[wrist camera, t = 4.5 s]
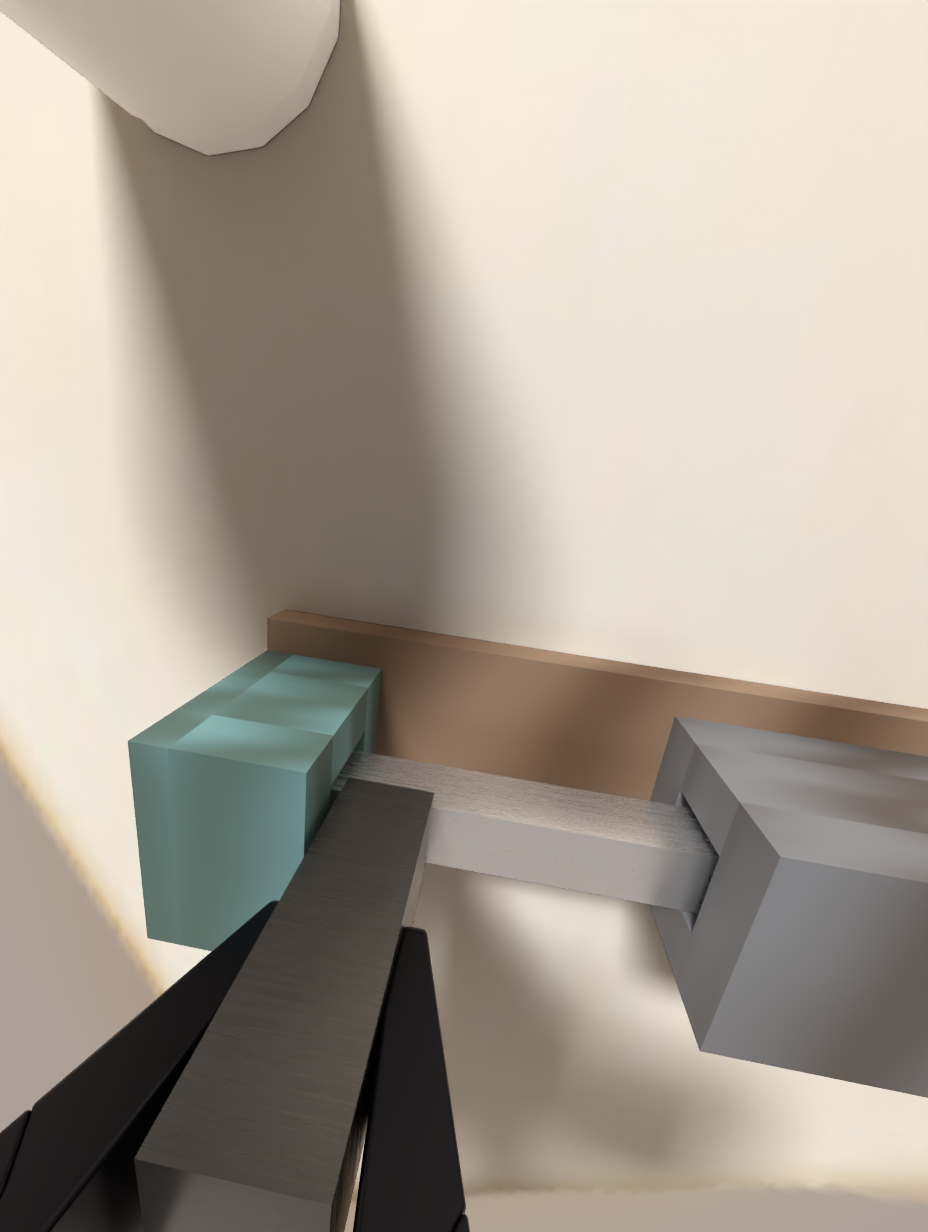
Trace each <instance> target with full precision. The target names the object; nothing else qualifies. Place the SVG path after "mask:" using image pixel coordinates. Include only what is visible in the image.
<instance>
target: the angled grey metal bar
mask: <svg viewBox="0 0 928 1232" xmlns="http://www.w3.org/2000/svg"><path fill="white" fill-rule="evenodd" d="M718 859H719V855H718V853H717V852H716V850H715V848H714V846H713V845H712V843H711V841H710V840H709V838H708V836H707V834H706V833H705V831H704V829H703V827H702V826H701V824H700V822H699V821H698V819H697V817H696V815H695V814H694V812H693V810H692V809H690V808H685V807H679V806H673V805H667V804H661V803H656V802H650V801H644V800H638V799H633V798H627V797H621V796H615V795H609V794H604V793H598V792H592V791H586V790H580V789H575V788H569V787H563V786H557V785H551V784H546V783H540V782H534V781H528V780H523V779H517V778H511V777H505V776H499V775H494V774H488V773H482V772H476V771H470V770H465V769H459V768H453V767H447V766H442V765H436V764H430V763H424V762H418V761H413V760H407V759H401V758H395V757H389V756H384V755H378V754H372V753H366V752H361V751H355V750H353V751H352V753H351V754H350V756H349V758H348V759H347V761H346V763H345V764H344V766H343V768H342V769H341V771H340V773H339V774H338V776H337V778H336V779H335V781H334V782H333V784H332V786H331V795H330V812H329V813H328V815H327V817H326V819H325V820H324V822H323V824H322V826H321V828H320V829H319V831H318V833H317V835H316V836H315V838H314V840H313V842H312V844H311V845H310V847H309V849H308V851H307V852H306V854H305V856H304V858H303V859H302V861H301V863H300V865H299V867H298V868H297V870H296V872H295V874H294V875H293V877H292V879H291V881H290V883H289V884H288V886H287V888H286V890H285V891H284V893H283V895H282V897H281V899H280V900H279V902H278V904H277V906H276V907H275V909H274V911H273V913H272V915H271V916H270V918H269V920H268V922H267V923H266V925H265V927H264V929H263V931H262V932H261V934H260V936H259V938H258V939H257V941H256V943H255V945H254V946H253V948H252V950H251V952H250V954H249V955H248V957H247V959H246V961H245V962H244V964H243V966H242V968H241V970H240V971H239V973H238V975H237V977H236V978H235V980H234V982H233V984H232V986H231V987H230V989H229V991H228V993H227V994H226V996H225V998H224V1000H223V1002H222V1003H221V1005H220V1007H219V1009H218V1010H217V1012H216V1014H215V1016H214V1018H213V1019H212V1021H211V1023H210V1025H209V1026H208V1028H207V1030H206V1032H205V1033H204V1035H203V1037H202V1039H201V1041H200V1042H199V1044H198V1046H197V1048H196V1049H195V1051H194V1053H193V1055H192V1057H191V1058H190V1060H189V1062H188V1064H187V1065H186V1067H185V1069H184V1071H183V1073H182V1074H181V1076H180V1078H179V1080H178V1081H177V1083H176V1085H175V1087H174V1089H173V1090H172V1092H171V1094H170V1096H169V1097H168V1099H167V1101H166V1103H165V1104H164V1106H163V1108H162V1110H161V1112H160V1113H159V1115H158V1117H157V1119H156V1120H155V1122H154V1124H153V1126H152V1128H151V1129H150V1131H149V1133H148V1135H147V1136H146V1138H145V1140H144V1142H143V1144H142V1145H141V1147H140V1149H139V1151H138V1152H137V1154H136V1156H135V1158H134V1163H135V1170H136V1177H137V1184H138V1192H139V1199H140V1206H141V1213H142V1220H143V1228H144V1232H344V1230H345V1225H346V1220H347V1216H348V1212H349V1207H350V1203H351V1198H352V1194H353V1189H354V1185H355V1180H356V1176H357V1171H358V1167H359V1162H360V1158H361V1153H362V1149H363V1144H364V1140H365V1135H366V1128H367V1120H368V1112H369V1105H370V1097H371V1089H372V1082H373V1074H374V1066H375V1059H376V1051H377V1043H378V1036H379V1028H380V1021H381V1017H382V1012H383V1008H384V1004H385V1000H386V996H387V993H388V989H389V985H390V981H391V977H392V973H393V970H394V966H395V962H396V958H397V954H398V950H399V947H400V943H401V939H402V935H403V931H404V928H405V927H408V926H409V927H412V925H413V920H414V916H415V911H416V907H417V902H418V898H419V893H420V889H421V884H422V880H423V875H424V867H425V863H431V864H436V865H441V866H447V867H452V868H457V869H463V870H468V871H473V872H479V873H484V874H489V875H495V876H500V877H506V878H511V879H516V880H522V881H527V882H532V883H538V884H543V885H548V886H554V887H559V888H565V889H570V890H575V891H581V892H586V893H591V894H597V895H602V896H607V897H613V898H618V899H624V900H629V901H634V902H640V903H645V904H650V905H656V906H661V907H666V908H672V909H677V910H683V911H688V912H693V913H699V911H700V909H701V906H702V903H703V900H704V898H705V895H706V892H707V890H708V887H709V884H710V881H711V879H712V876H713V873H714V870H715V868H716V865H717V862H718Z"/></svg>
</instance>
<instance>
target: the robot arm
mask: <svg viewBox="0 0 928 1232" xmlns="http://www.w3.org/2000/svg"><path fill="white" fill-rule="evenodd" d="M278 902H279V900H273V901H271V902H269V903H268V904H267V905H265V906H264V907H263V908H262V909H261V910H260V911H258V912H257V913H256V914H255V915H254V916H253V917H251V918H250V919H249V920H248V921H247V922H246V923H244V924H243V925H242V926H241V927H240V928H239V929H237V930H236V931H235V932H234V933H233V934H232V935H231V936H229V937H228V938H227V939H226V940H225V941H224V942H222V943H221V944H220V945H219V946H218V947H217V948H215V949H214V950H213V951H212V952H211V953H210V954H208V955H207V956H206V957H205V958H204V959H203V960H201V961H200V962H199V963H198V964H197V965H196V966H194V967H193V968H192V969H191V970H190V971H189V972H187V973H186V974H185V975H184V976H183V977H182V978H180V979H179V980H178V981H177V982H176V983H175V984H173V985H172V986H171V987H170V988H169V989H168V990H166V991H165V992H164V993H163V994H162V995H161V996H159V997H158V998H157V999H156V1000H155V1001H154V1002H152V1003H151V1004H150V1005H149V1006H148V1007H147V1008H146V1009H144V1010H143V1011H142V1012H141V1013H140V1014H138V1015H137V1016H136V1017H135V1018H134V1019H133V1020H131V1021H130V1022H129V1023H128V1024H127V1025H126V1026H125V1027H123V1028H122V1029H121V1030H120V1031H119V1032H117V1033H116V1034H115V1035H114V1036H113V1037H112V1038H111V1039H109V1040H108V1041H107V1042H106V1043H105V1044H104V1045H102V1046H101V1047H100V1048H99V1049H98V1050H97V1051H95V1052H94V1053H93V1054H92V1055H91V1056H90V1057H88V1058H87V1059H86V1060H85V1061H84V1062H83V1063H81V1064H80V1065H79V1066H78V1067H77V1068H76V1069H74V1070H73V1071H72V1072H71V1073H70V1074H69V1075H67V1076H66V1077H65V1078H64V1079H63V1080H62V1081H61V1082H59V1083H58V1084H57V1085H56V1086H55V1087H54V1088H52V1089H51V1090H50V1091H49V1092H48V1093H46V1094H45V1095H44V1096H43V1097H42V1098H41V1099H40V1100H38V1101H37V1102H36V1103H35V1104H34V1106H33V1108H32V1111H31V1110H27V1111H25V1112H24V1113H23V1114H22V1115H21V1116H19V1117H18V1118H17V1119H16V1120H15V1121H13V1122H12V1123H11V1124H10V1125H9V1126H8V1127H7V1128H6V1129H4V1130H3V1131H2V1132H1V1133H0V1232H144V1228H143V1220H142V1213H141V1206H140V1199H139V1192H138V1184H137V1177H136V1170H135V1163H134V1158H135V1156H136V1154H137V1152H138V1151H139V1149H140V1147H141V1145H142V1144H143V1142H144V1140H145V1138H146V1136H147V1135H148V1133H149V1131H150V1129H151V1128H152V1126H153V1124H154V1122H155V1120H156V1119H157V1117H158V1115H159V1113H160V1112H161V1110H162V1108H163V1106H164V1104H165V1103H166V1101H167V1099H168V1097H169V1096H170V1094H171V1092H172V1090H173V1089H174V1087H175V1085H176V1083H177V1081H178V1080H179V1078H180V1076H181V1074H182V1073H183V1071H184V1069H185V1067H186V1065H187V1064H188V1062H189V1060H190V1058H191V1057H192V1055H193V1053H194V1051H195V1049H196V1048H197V1046H198V1044H199V1042H200V1041H201V1039H202V1037H203V1035H204V1033H205V1032H206V1030H207V1028H208V1026H209V1025H210V1023H211V1021H212V1019H213V1018H214V1016H215V1014H216V1012H217V1010H218V1009H219V1007H220V1005H221V1003H222V1002H223V1000H224V998H225V996H226V994H227V993H228V991H229V989H230V987H231V986H232V984H233V982H234V980H235V978H236V977H237V975H238V973H239V971H240V970H241V968H242V966H243V964H244V962H245V961H246V959H247V957H248V955H249V954H250V952H251V950H252V948H253V946H254V945H255V943H256V941H257V939H258V938H259V936H260V934H261V932H262V931H263V929H264V927H265V925H266V923H267V922H268V920H269V918H270V916H271V915H272V913H273V911H274V909H275V907H276V906H277V904H278ZM465 1209H466V1204H465V1197H464V1190H463V1183H462V1176H461V1169H460V1162H459V1155H458V1148H457V1141H456V1134H455V1127H454V1120H453V1113H452V1106H451V1099H450V1092H449V1085H448V1078H447V1071H446V1064H445V1057H444V1050H443V1043H442V1036H441V1029H440V1022H439V1015H438V1008H437V1001H436V994H435V987H434V980H433V973H432V966H431V959H430V952H429V945H428V938H427V933H426V931H425V930H423V929H419V928H414V927H409V926H408V927H405V928H404V931H403V935H402V939H401V943H400V947H399V950H398V954H397V958H396V962H395V966H394V970H393V973H392V977H391V981H390V985H389V989H388V993H387V996H386V1000H385V1004H384V1008H383V1012H382V1017H381V1021H380V1028H379V1036H378V1043H377V1051H376V1059H375V1066H374V1074H373V1082H372V1089H371V1097H370V1105H369V1112H368V1120H367V1128H366V1135H365V1143H364V1151H363V1158H362V1166H361V1174H360V1181H359V1189H358V1197H357V1204H356V1212H355V1220H354V1227H353V1232H470V1230H469V1223H468V1217H467V1216H466V1215H465Z"/></svg>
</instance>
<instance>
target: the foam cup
mask: <svg viewBox="0 0 928 1232" xmlns="http://www.w3.org/2000/svg"><path fill="white" fill-rule="evenodd" d="M0 11H1V12H2V13H3V14H4V15H6V16H7V17H8V18H10V19H11V20H12V21H13V22H15V23H16V24H17V25H18V26H20V27H21V28H22V29H23V30H25V31H26V32H27V33H28V34H30V35H31V36H32V37H34V38H35V39H36V40H37V41H39V42H40V43H41V44H42V45H44V46H45V47H46V48H47V49H49V50H50V51H51V52H52V53H54V54H55V55H56V56H58V57H59V58H60V59H61V60H63V61H64V62H65V63H66V64H68V65H69V66H70V67H71V68H73V69H74V70H75V71H76V72H78V73H79V74H80V75H82V76H83V77H84V78H85V79H87V80H88V81H89V82H90V83H92V84H93V85H94V86H95V87H97V88H98V89H99V90H100V91H102V92H103V93H104V94H106V95H107V96H108V97H109V98H111V99H112V100H113V101H114V102H116V103H117V104H118V105H119V106H121V107H122V108H123V109H125V110H126V111H127V112H128V113H130V114H131V115H133V116H135V117H137V118H140V119H142V120H143V121H144V122H145V123H146V124H147V125H148V126H149V127H150V128H151V129H152V130H153V131H154V132H155V133H157V134H159V135H162V136H164V137H166V138H169V139H171V140H173V141H176V142H178V143H180V144H183V145H185V146H187V147H189V148H192V149H194V150H196V151H199V152H201V153H203V154H206V155H208V156H209V155H215V154H221V153H227V152H233V151H239V150H246V149H252V148H258V147H263V146H264V145H265V144H266V143H267V142H268V141H269V140H271V139H272V138H273V137H274V136H275V135H276V134H277V133H279V132H280V131H281V130H282V129H283V128H284V127H285V126H286V125H288V124H289V123H290V122H291V121H292V120H293V119H294V118H296V117H297V116H298V115H299V114H300V113H301V112H302V111H303V110H305V109H306V108H307V107H308V106H309V104H310V102H311V99H312V97H313V95H314V92H315V90H316V88H317V85H318V83H319V81H320V78H321V76H322V74H323V71H324V69H325V67H326V65H327V62H328V60H329V58H330V55H331V53H332V51H333V48H334V46H335V44H336V41H337V39H338V32H339V16H340V0H0Z"/></svg>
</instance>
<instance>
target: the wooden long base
mask: <svg viewBox="0 0 928 1232" xmlns="http://www.w3.org/2000/svg"><path fill="white" fill-rule="evenodd" d="M128 748H129V758H130V768H131V778H132V788H133V797H134V807H135V817H136V827H137V837H138V847H139V857H140V867H141V877H142V887H143V897H144V907H145V917H146V927H147V936H148V938H150V939H155V940H160V941H165V942H170V943H175V944H179V945H184V946H189V947H194V948H199V949H204V950H209V951H213V950H214V949H215V948H217V947H218V946H219V945H220V944H221V943H222V942H224V941H225V940H226V939H227V938H228V937H229V936H231V935H232V934H233V933H234V932H235V931H236V930H237V929H239V928H240V927H241V926H242V925H243V924H244V923H246V922H247V921H248V920H249V919H250V918H251V917H253V916H254V915H255V914H256V913H257V912H258V911H260V910H261V909H262V908H263V907H264V906H265V905H267V904H268V903H269V902H271V901H273V900H280V899H281V897H282V895H283V893H284V891H285V890H286V888H287V886H288V884H289V883H290V881H291V879H292V877H293V875H294V874H295V872H296V870H297V868H298V867H299V865H300V863H301V861H302V859H303V858H304V856H305V854H306V852H307V851H308V849H309V847H310V845H311V844H312V842H313V840H314V838H315V836H316V835H317V833H318V831H319V829H320V828H321V826H322V824H323V822H324V820H325V819H326V817H327V815H328V813H329V812H330V795H331V786H332V784H333V782H334V781H335V779H336V778H337V776H338V774H339V773H340V771H341V769H342V768H343V766H344V764H345V763H346V761H347V759H348V758H349V756H350V754H351V753H352V751H353V750H355V751H361V752H366V753H372V754H378V755H384V756H389V757H395V758H401V759H407V760H413V761H418V762H424V763H430V764H436V765H442V766H447V767H453V768H459V769H465V770H470V771H476V772H482V773H488V774H494V775H499V776H505V777H511V778H517V779H523V780H528V781H534V782H540V783H546V784H551V785H557V786H563V787H569V788H575V789H580V790H586V791H592V792H598V793H604V794H609V795H615V796H621V797H627V798H633V799H638V800H644V801H650V802H656V803H661V804H667V805H673V806H679V807H685V808H690V809H692V810H693V812H694V814H695V815H696V817H697V819H698V821H699V822H700V824H701V826H702V827H703V829H704V831H705V833H706V834H707V836H708V838H709V840H710V841H711V843H712V845H713V846H714V848H715V850H716V852H717V853H718V855H719V859H718V862H717V865H716V868H715V870H714V873H713V876H712V879H711V881H710V884H709V887H708V890H707V892H706V895H705V898H704V900H703V903H702V906H701V909H700V911H699V913H693V912H688V911H683V910H677V909H672V908H666V907H661V906H656V905H650V907H651V910H652V913H653V916H654V919H655V922H656V925H657V927H658V930H659V933H660V936H661V939H662V942H663V945H664V948H665V951H666V954H667V957H668V959H669V962H670V965H671V968H672V971H673V974H674V977H675V980H676V983H677V986H678V989H679V992H680V994H681V997H682V1000H683V1003H684V1006H685V1009H686V1012H687V1015H688V1018H689V1021H690V1024H691V1026H692V1029H693V1032H694V1035H695V1038H696V1041H697V1044H698V1047H699V1050H700V1051H702V1052H707V1053H712V1054H717V1055H722V1056H727V1057H732V1058H737V1059H741V1060H746V1061H751V1062H756V1063H761V1064H766V1065H771V1066H776V1067H781V1068H785V1069H790V1070H795V1071H800V1072H805V1073H810V1074H815V1075H820V1076H824V1077H829V1078H834V1079H839V1080H844V1081H849V1082H854V1083H859V1084H864V1085H868V1086H873V1087H878V1088H883V1089H888V1090H893V1091H898V1092H903V1093H908V1094H912V1095H917V1096H922V1097H927V1098H928V709H922V708H915V707H909V706H902V705H896V704H889V703H883V702H876V701H870V700H864V699H857V698H851V697H844V696H838V695H831V694H825V693H818V692H812V691H805V690H799V689H792V688H786V687H780V686H773V685H767V684H760V683H754V682H747V681H741V680H734V679H728V678H721V677H715V676H709V675H702V674H696V673H689V672H683V671H676V670H670V669H663V668H657V667H650V666H644V665H637V664H631V663H625V662H618V661H612V660H605V659H599V658H592V657H586V656H579V655H573V654H566V653H560V652H554V651H547V650H541V649H534V648H528V647H521V646H515V645H508V644H502V643H495V642H489V641H482V640H476V639H470V638H463V637H457V636H450V635H444V634H437V633H431V632H424V631H418V630H411V629H405V628H399V627H392V626H386V625H379V624H373V623H366V622H360V621H353V620H347V619H340V618H334V617H327V616H321V615H315V614H308V613H302V612H295V611H289V610H283V611H281V612H279V613H277V614H276V615H274V616H272V617H270V618H268V650H267V651H266V652H264V653H263V654H261V655H260V656H258V657H257V658H255V659H253V660H252V661H250V662H249V663H247V664H246V665H244V666H243V667H241V668H240V669H238V670H237V671H235V672H233V673H232V674H230V675H229V676H227V677H226V678H224V679H223V680H221V681H220V682H218V683H217V684H215V685H214V686H212V687H210V688H209V689H207V690H206V691H204V692H203V693H201V694H200V695H198V696H197V697H195V698H194V699H192V700H190V701H189V702H187V703H186V704H184V705H183V706H181V707H180V708H178V709H177V710H175V711H174V712H172V713H170V714H169V715H167V716H166V717H164V718H163V719H161V720H160V721H158V722H157V723H155V724H154V725H152V726H150V727H149V728H147V729H146V730H144V731H143V732H141V733H140V734H138V735H137V736H135V737H134V738H132V739H130V740H129V741H128Z"/></svg>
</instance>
